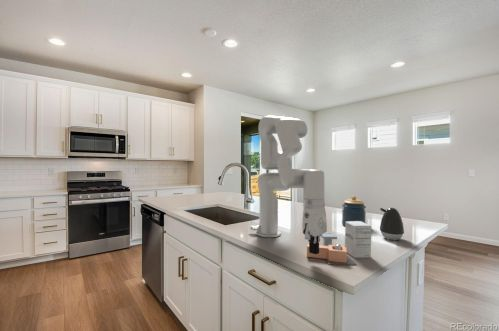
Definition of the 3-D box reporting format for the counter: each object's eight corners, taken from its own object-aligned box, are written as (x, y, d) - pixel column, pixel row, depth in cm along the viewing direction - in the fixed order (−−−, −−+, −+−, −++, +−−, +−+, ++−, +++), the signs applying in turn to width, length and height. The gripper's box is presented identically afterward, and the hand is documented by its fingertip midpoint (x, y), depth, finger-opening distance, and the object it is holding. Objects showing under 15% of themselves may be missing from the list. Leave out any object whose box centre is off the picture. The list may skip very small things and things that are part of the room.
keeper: (323, 250, 103) (323, 236, 102) (319, 246, 109) (320, 232, 109) (336, 251, 102) (337, 236, 102) (332, 246, 108) (332, 232, 108)
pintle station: (328, 264, 89) (328, 249, 89) (321, 254, 99) (321, 240, 99) (356, 265, 88) (356, 250, 88) (346, 254, 98) (346, 241, 98)
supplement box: (344, 251, 103) (344, 221, 102) (361, 250, 103) (361, 220, 103) (353, 258, 95) (353, 225, 95) (371, 257, 96) (371, 225, 96)
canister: (369, 228, 138) (370, 197, 138) (346, 228, 138) (347, 197, 138) (359, 223, 151) (360, 194, 151) (338, 223, 151) (339, 194, 151)
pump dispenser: (383, 234, 128) (383, 205, 127) (406, 238, 120) (406, 207, 120) (376, 238, 120) (376, 207, 120) (400, 243, 113) (400, 210, 113)
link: (345, 256, 96) (345, 246, 96) (347, 262, 90) (347, 251, 90) (307, 252, 100) (307, 242, 100) (306, 258, 94) (306, 247, 94)
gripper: (312, 206, 82) (312, 261, 82) (332, 202, 93) (333, 250, 93) (293, 204, 88) (293, 255, 87) (315, 200, 98) (315, 246, 98)
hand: (314, 252), depth 90 cm, fingers closed
